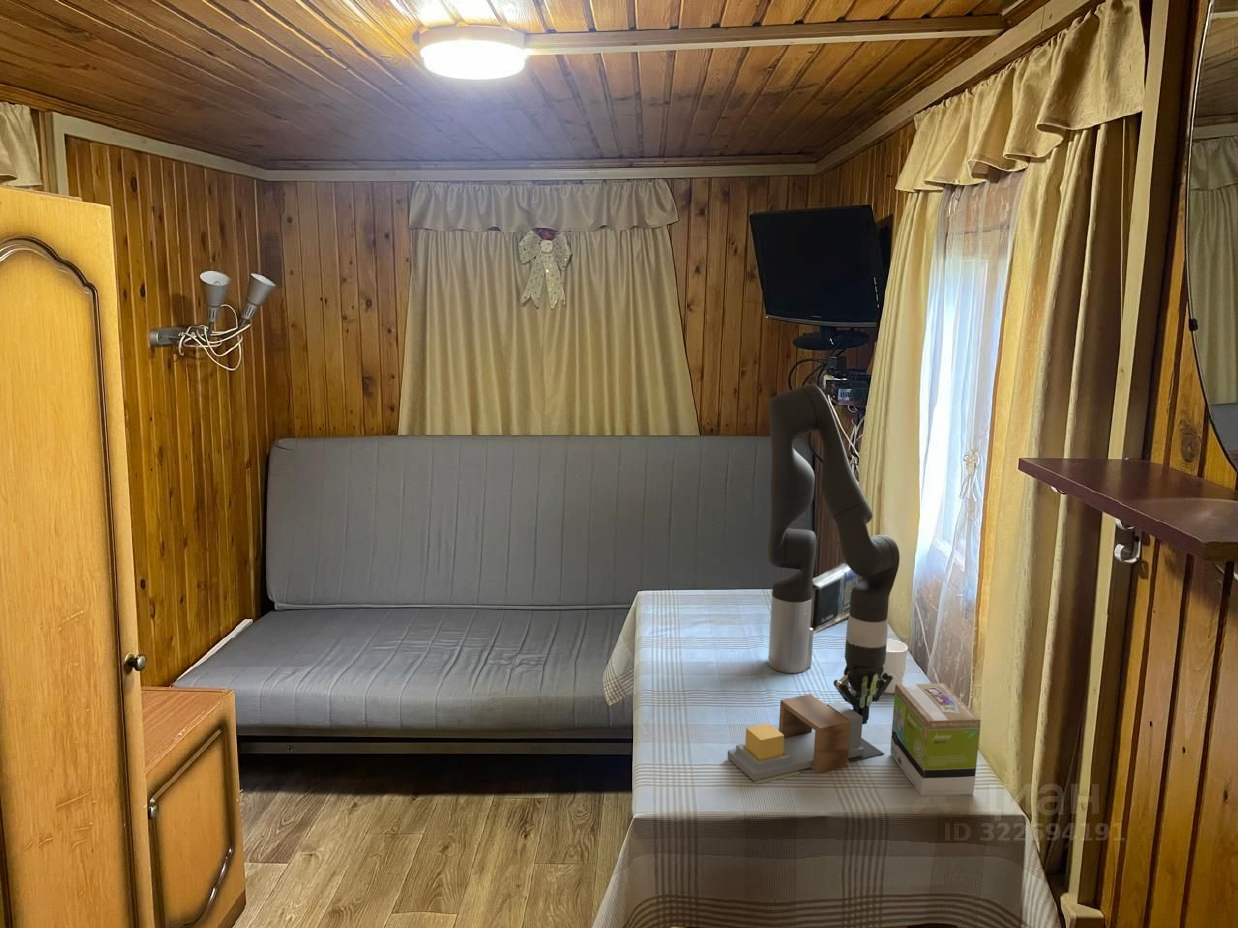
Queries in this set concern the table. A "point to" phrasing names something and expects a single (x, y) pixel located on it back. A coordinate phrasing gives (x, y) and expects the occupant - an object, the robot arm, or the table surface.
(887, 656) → the white cup
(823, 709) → the tunnel
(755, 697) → the table surface
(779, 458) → the robot arm
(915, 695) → the tea box
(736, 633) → the table surface
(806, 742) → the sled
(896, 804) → the table surface
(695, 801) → the table surface
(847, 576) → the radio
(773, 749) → the block
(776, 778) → the mat
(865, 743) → the mat
